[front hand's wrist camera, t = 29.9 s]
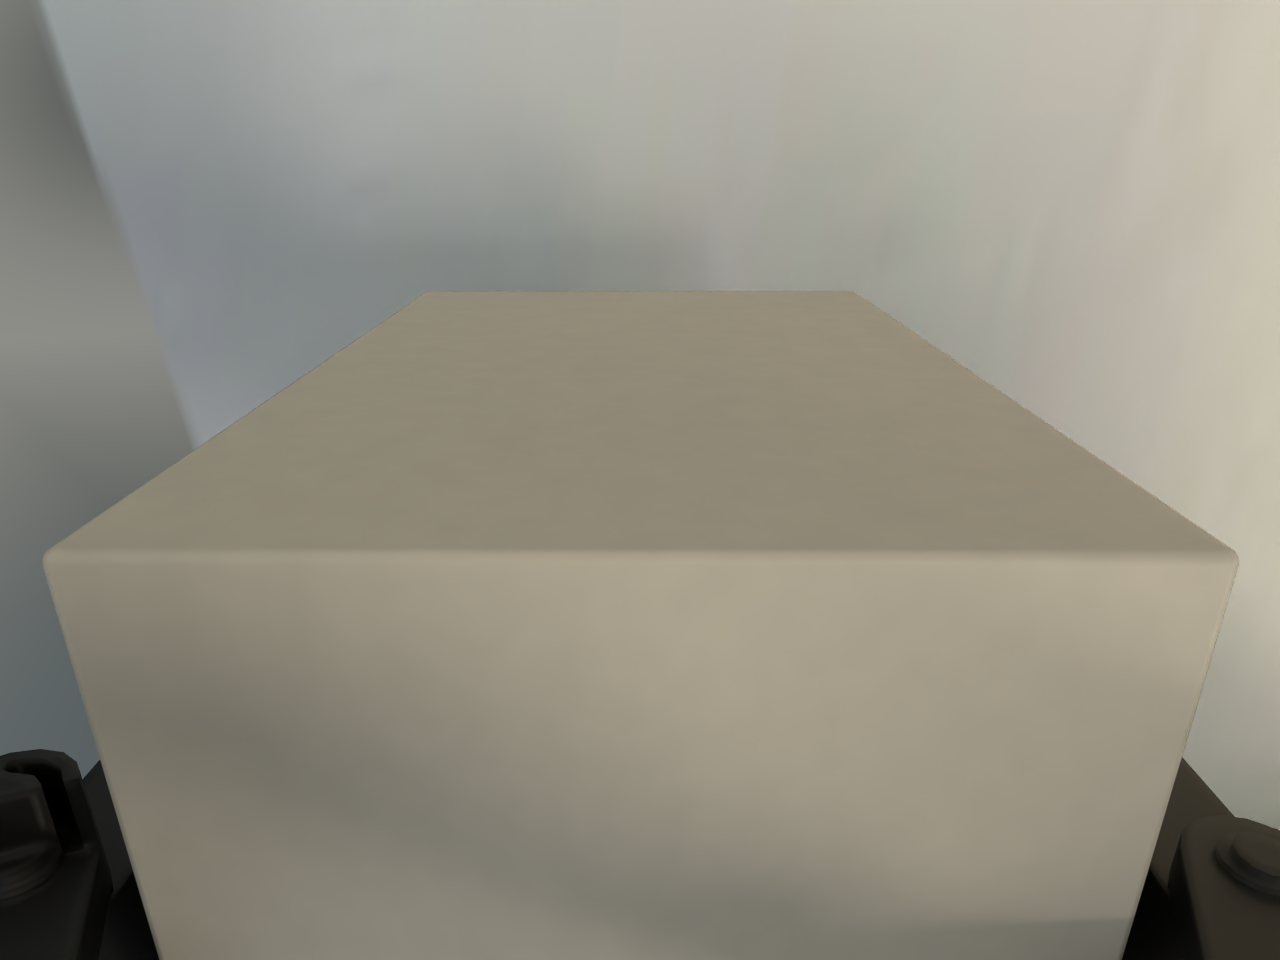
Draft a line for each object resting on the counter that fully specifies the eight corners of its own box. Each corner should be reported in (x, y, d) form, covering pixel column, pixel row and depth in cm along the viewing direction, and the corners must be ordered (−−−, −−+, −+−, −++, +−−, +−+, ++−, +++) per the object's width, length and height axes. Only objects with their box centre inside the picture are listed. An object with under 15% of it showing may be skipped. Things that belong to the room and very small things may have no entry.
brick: (425, 290, 15) (31, 553, 5) (856, 290, 15) (1249, 553, 5) (462, 692, 19) (260, 1315, 9) (818, 693, 19) (1020, 1316, 9)
